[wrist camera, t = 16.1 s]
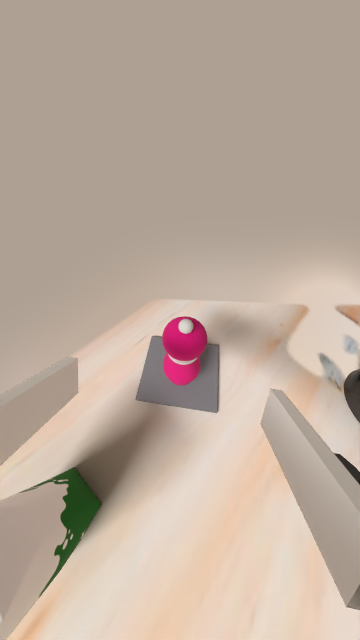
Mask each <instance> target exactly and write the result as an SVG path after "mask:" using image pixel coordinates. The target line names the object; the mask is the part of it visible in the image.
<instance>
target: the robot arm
mask: <svg viewBox="0 0 360 640" xmlns="http://www.w3.org/2000/svg"><path fill="white" fill-rule="evenodd" d="M344 390H345V396H346V400H347V402H348V405H349V407H350V409H351V411H352V413H353V414H354V416H355V417H356V419H357V420H358V421H359V422H360V369H359V370H356V371H353V372H352V373H350V374H349V375H348V377H347V378H346V381H345V385H344ZM76 394H78V358H72V357H66V358H64V359H62V360H61V361H59V362H57V363H55V364H54V365H52V366H50V367H48V368H47V369H45V370H43V371H41V372H40V373H38V374H36V375H34V376H33V377H31V378H29V379H27V380H26V381H24V382H22V383H21V384H19V385H17V386H15V387H14V388H12V389H10V390H8V391H6V392H5V393H3V394H1V395H0V466H1V465H2V464H3V463H4V462H5V461H6V460H7V459H8V458H9V457H10V456H11V455H12V454H13V453H15V452H16V451H17V450H18V449H19V448H20V447H21V446H22V445H23V444H24V443H25V442H26V441H27V440H28V439H29V438H31V437H32V436H33V435H34V434H35V433H36V432H37V431H38V430H39V429H40V428H41V427H42V426H43V425H44V424H46V423H47V422H48V421H49V420H50V419H51V418H52V417H53V416H54V415H55V414H56V413H57V412H58V411H59V410H60V409H62V408H63V407H64V406H65V405H66V404H67V403H68V402H69V401H70V400H71V399H72V398H73V397H74V396H75V395H76ZM261 426H262V428H263V430H264V432H265V434H266V436H267V439H268V441H269V443H270V445H271V447H272V449H273V451H274V454H275V456H276V458H277V460H278V462H279V464H280V466H281V469H282V471H283V473H284V475H285V477H286V479H287V481H288V483H289V486H290V488H291V490H292V492H293V494H294V496H295V498H296V501H297V503H298V505H299V507H300V509H301V511H302V513H303V515H304V518H305V520H306V522H307V524H308V526H309V528H310V530H311V533H312V535H313V537H314V539H315V541H316V543H317V545H318V547H319V550H320V552H321V554H322V556H323V558H324V560H325V562H326V565H327V567H328V569H329V571H330V573H331V575H332V577H333V579H334V582H335V584H336V586H337V588H338V590H339V592H340V594H341V597H342V599H343V601H344V603H345V605H346V607H349V608H353V609H358V610H360V472H359V471H358V470H357V468H356V467H354V466H353V465H352V464H351V463H350V462H349V461H347V460H346V459H345V458H344V457H343V456H341V455H340V454H335V453H333V452H332V451H331V449H330V448H329V447H328V446H327V444H326V443H325V442H324V441H323V440H322V438H321V437H320V436H319V435H318V433H317V432H316V431H315V430H314V429H313V427H312V426H311V425H310V424H309V422H308V421H307V420H306V419H305V418H304V416H303V415H302V414H301V413H300V412H299V410H298V409H297V408H296V407H295V405H294V404H293V403H292V402H291V401H290V399H289V398H288V397H287V396H286V394H285V393H284V392H283V391H282V390H276V389H270V391H269V395H268V398H267V402H266V406H265V409H264V413H263V417H262V420H261Z"/></svg>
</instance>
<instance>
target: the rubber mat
mask: <svg viewBox="0 0 360 640" xmlns="http://www.w3.org/2000/svg"><path fill="white" fill-rule="evenodd" d="M218 350H219V345H211V344H206V347H205V349H204V351H203V353H202V354H201V355H200V356H199V358H200V363H201V365H200V371H199V374H198V376H197V377H196V378H195V379H194V380H193V381H192V382H190V383H189V384H187V385H182V386H180V385H176V384H174V383H172V382H171V381H170V380H169V379H168V377H167V376H166V374H165V372H164V369H163V361H164V357H165V355H166V353H167V352H166V350H165V349H164V346H163V341H162V337H155V336H152V338H151V342H150V346H149V350H148V353H147V357H146V361H145V365H144V369H143V373H142V377H141V380H140V384H139V388H138V392H137V396H136V400H139V401H146V402H152V403H158V404H164V405H170V406H176V407H182V408H189V409H195V410H201V411H207V412H213V413H217V400H218Z"/></svg>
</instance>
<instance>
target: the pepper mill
mask: <svg viewBox="0 0 360 640" xmlns="http://www.w3.org/2000/svg"><path fill="white" fill-rule="evenodd" d="M162 341H163V346H164V349H165V350H166V352H167V353H166V355H165V357H164V361H163V369H164V372H165V374H166V376H167V377H168V379H169V380H170V381H171V382H172V383H174V384H176V385H180V386H182V385H187V384H189V383H190V382H192V381H193V380H194V379H195V378H196V377H197V376H198V374H199V371H200V365H201V363H200V358H199V356H200V355H201V354H202V353H203V351H204V349H205V347H206V344H207V334H206V331H205V328H204V327H203V325H202V324H201V323H200V322H199V321H197V320H196V319H194V318H191V317H178V318H175V319H173V320H172V321H170V322H169V323H168V325H167V326H166V327H165V329H164V332H163V337H162Z"/></svg>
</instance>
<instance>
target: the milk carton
mask: <svg viewBox="0 0 360 640" xmlns="http://www.w3.org/2000/svg"><path fill="white" fill-rule="evenodd" d="M100 506H101V502H100V501H99V500H98V498H97V497H96V496H95V494H94V493H93V492H92V490H91V489H90V488H89V486H88V485H87V483H86V482H85V481H84V479H83V478H82V477H81V475H80V474H79V473H78V471H77V470H76V469H75V467H74V468H72V469H70V470H68V471H65V472H63V473H61V474H59V475H57V476H55V477H53V478H51V479H49V480H47V481H45V482H42V483H40V484H38V485H36V486H33V487H31V488H29V489H26V490H24V491H22V492H20V493H17V494H15V495H13V496H10V497H8V498H6V499H3V500H1V501H0V640H6V639H7V638H8V637H9V635H10V634H11V633H12V632H13V630H14V629H15V628H16V627H17V625H18V624H19V623H20V621H21V620H22V619H23V618H24V616H25V615H26V614H27V613H28V611H29V610H30V609H31V607H32V606H33V605H34V604H35V602H36V601H37V600H38V599H39V597H40V596H41V595H42V593H43V592H44V591H45V590H46V588H47V587H48V586H49V584H50V583H51V582H52V581H53V579H54V578H55V577H56V576H57V574H58V573H59V571H60V570H61V569H62V567H63V566H64V564H65V563H66V561H67V560H68V558H69V557H70V555H71V554H72V552H73V551H74V549H75V548H76V546H77V545H78V543H79V542H80V540H81V538H82V537H83V535H84V533H85V532H86V530H87V528H88V527H89V525H90V523H91V521H92V520H93V518H94V516H95V515H96V513H97V511H98V509H99V508H100Z"/></svg>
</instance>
